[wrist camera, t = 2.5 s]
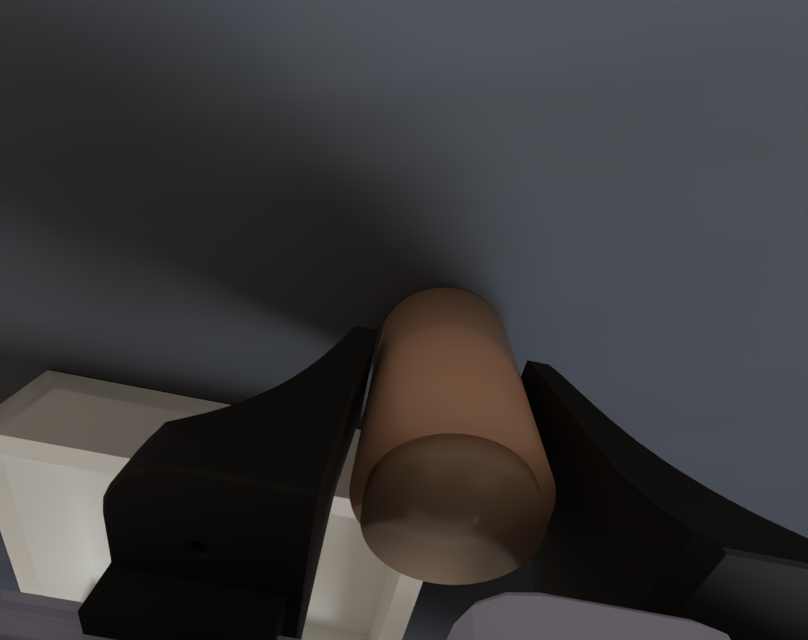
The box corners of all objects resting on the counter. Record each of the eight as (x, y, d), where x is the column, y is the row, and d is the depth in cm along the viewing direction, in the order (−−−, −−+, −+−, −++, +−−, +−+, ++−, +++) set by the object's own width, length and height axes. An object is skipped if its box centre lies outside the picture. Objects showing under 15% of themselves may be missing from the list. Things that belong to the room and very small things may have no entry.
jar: (523, 302, 13) (601, 469, 7) (486, 406, 15) (522, 607, 9) (392, 275, 13) (361, 424, 7) (370, 384, 15) (331, 574, 9)
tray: (443, 445, 16) (446, 516, 13) (384, 629, 21) (378, 706, 18) (47, 370, 15) (-35, 428, 12) (91, 579, 21) (41, 651, 18)
